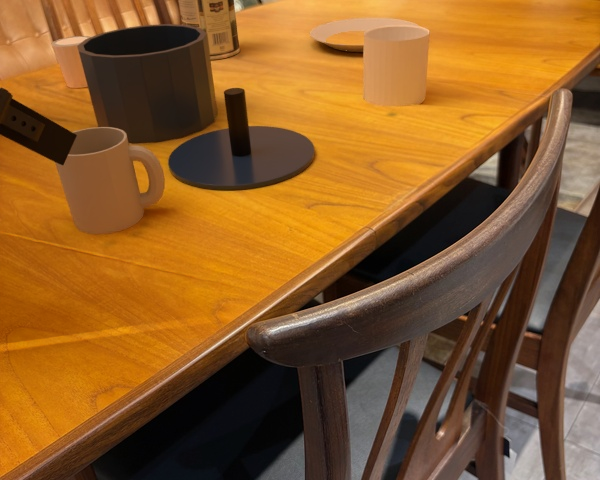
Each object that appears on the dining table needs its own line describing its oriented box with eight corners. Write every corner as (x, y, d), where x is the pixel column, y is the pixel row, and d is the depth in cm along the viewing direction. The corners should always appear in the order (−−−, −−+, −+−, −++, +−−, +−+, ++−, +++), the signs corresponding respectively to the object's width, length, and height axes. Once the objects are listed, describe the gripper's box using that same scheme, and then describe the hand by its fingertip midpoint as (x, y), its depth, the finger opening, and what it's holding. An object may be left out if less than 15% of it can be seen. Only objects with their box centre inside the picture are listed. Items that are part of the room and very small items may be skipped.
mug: (415, 112, 85) (419, 42, 80) (354, 106, 89) (354, 38, 83) (437, 86, 94) (442, 21, 88) (381, 81, 97) (382, 18, 92)
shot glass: (109, 83, 105) (99, 39, 101) (69, 92, 102) (57, 48, 98) (95, 74, 110) (85, 33, 105) (57, 82, 107) (45, 40, 103)
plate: (391, 24, 127) (391, 12, 126) (440, 47, 111) (441, 34, 110) (296, 38, 123) (295, 26, 121) (333, 64, 106) (333, 51, 105)
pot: (75, 139, 84) (50, 52, 78) (146, 100, 96) (130, 22, 90) (175, 153, 78) (158, 60, 72) (238, 110, 90) (228, 27, 84)
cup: (80, 209, 67) (57, 131, 62) (172, 198, 68) (156, 120, 63) (71, 243, 61) (44, 159, 56) (171, 230, 62) (154, 147, 57)
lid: (140, 182, 72) (123, 109, 67) (217, 128, 85) (208, 63, 80) (275, 205, 66) (268, 126, 60) (336, 142, 78) (335, 73, 73)
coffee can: (211, 43, 123) (201, -36, 114) (251, 49, 118) (242, -34, 109) (174, 56, 116) (160, -27, 108) (214, 63, 111) (203, -24, 103)
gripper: (-366, 5, 42) (-60, 142, 60) (-267, 51, 28) (89, 210, 46) (-320, -94, 42) (-28, 72, 60) (-200, -96, 28) (130, 120, 46)
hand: (23, 133), depth 53 cm, fingers open, 13 cm apart
